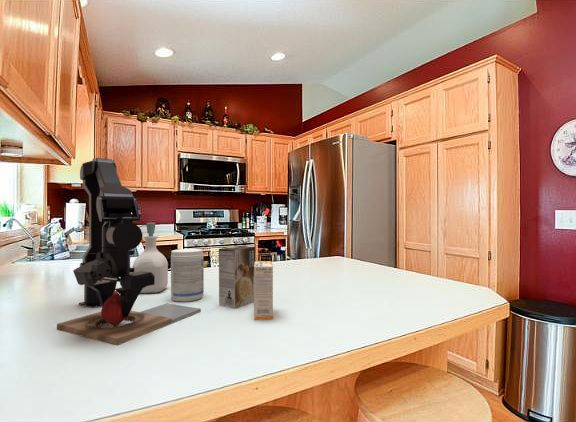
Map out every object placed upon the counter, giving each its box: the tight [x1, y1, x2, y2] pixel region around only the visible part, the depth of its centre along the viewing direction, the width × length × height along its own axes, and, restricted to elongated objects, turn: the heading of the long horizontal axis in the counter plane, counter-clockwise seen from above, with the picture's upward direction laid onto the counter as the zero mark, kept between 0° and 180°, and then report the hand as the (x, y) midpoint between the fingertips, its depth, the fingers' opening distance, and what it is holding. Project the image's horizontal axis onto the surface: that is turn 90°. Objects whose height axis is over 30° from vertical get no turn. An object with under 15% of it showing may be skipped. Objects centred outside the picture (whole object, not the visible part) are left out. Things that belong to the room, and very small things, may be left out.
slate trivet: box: [140, 302, 202, 324], centre depth 81 cm, size 12×12×1 cm
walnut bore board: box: [56, 310, 173, 346], centre depth 73 cm, size 20×14×1 cm
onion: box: [100, 290, 128, 327], centre depth 73 cm, size 6×6×8 cm
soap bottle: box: [132, 222, 169, 294], centre depth 108 cm, size 10×10×23 cm
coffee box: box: [218, 245, 256, 309], centre depth 93 cm, size 9×6×16 cm
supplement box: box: [253, 260, 274, 321], centre depth 82 cm, size 8×5×13 cm, turn 5°
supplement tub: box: [170, 248, 205, 303], centre depth 98 cm, size 10×10×15 cm
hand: (115, 315), depth 73 cm, fingers closed on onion, 6 cm apart
